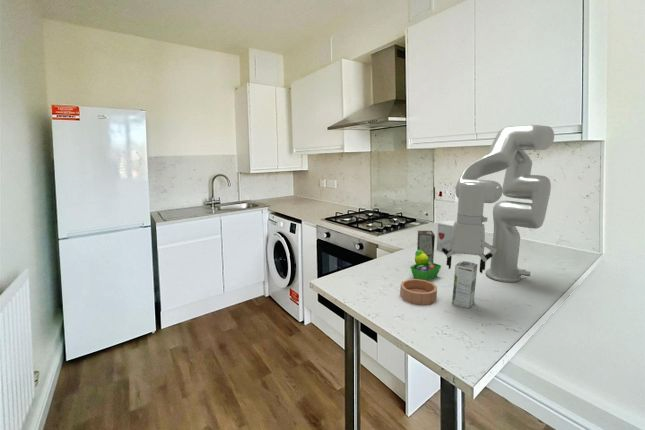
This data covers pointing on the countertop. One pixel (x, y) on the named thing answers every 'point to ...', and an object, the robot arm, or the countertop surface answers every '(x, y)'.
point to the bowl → (418, 291)
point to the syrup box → (464, 284)
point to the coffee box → (426, 243)
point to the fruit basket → (424, 267)
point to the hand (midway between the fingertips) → (464, 269)
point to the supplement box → (444, 233)
